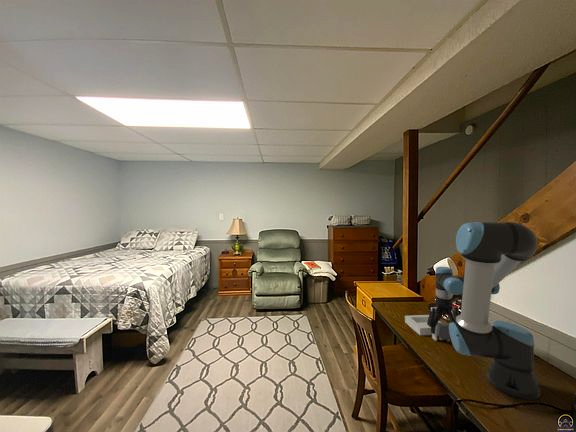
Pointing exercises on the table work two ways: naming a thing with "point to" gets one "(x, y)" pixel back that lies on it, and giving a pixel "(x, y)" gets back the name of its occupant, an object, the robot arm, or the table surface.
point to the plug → (443, 331)
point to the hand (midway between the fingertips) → (444, 339)
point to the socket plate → (419, 324)
